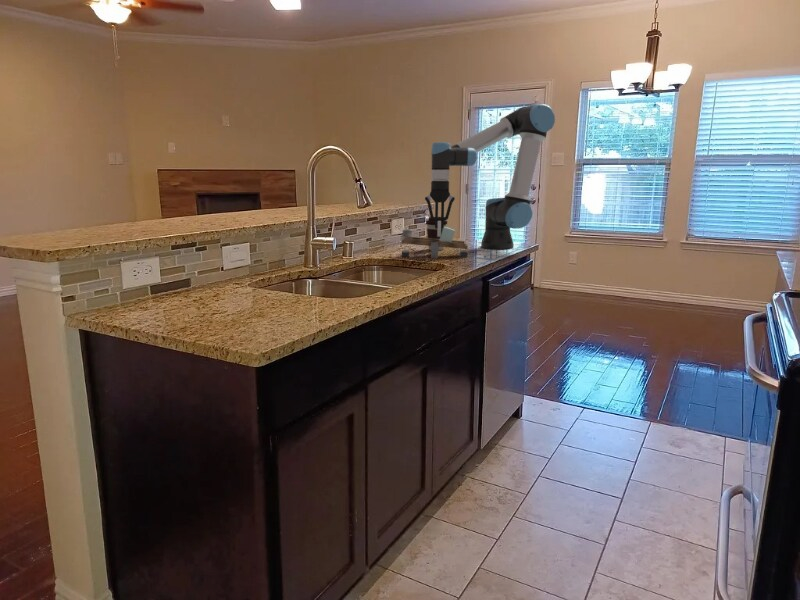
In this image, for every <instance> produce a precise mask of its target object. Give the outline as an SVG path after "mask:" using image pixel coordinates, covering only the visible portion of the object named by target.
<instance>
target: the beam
mask: <svg viewBox="0 0 800 600" xmlns="http://www.w3.org/2000/svg"><path fill="white" fill-rule="evenodd" d="M431 242H438V247H444V248H451V249H460V250H468V244H467V243H465V240H464V241H463V240H454V239H452V242H442V241H440V239H431V238H428V237H420V236H419V237H418V236H413V228H403V229H402V237H401V244H404V245H405V244H406V245H417V246H427V247H429V246H431Z"/></svg>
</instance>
